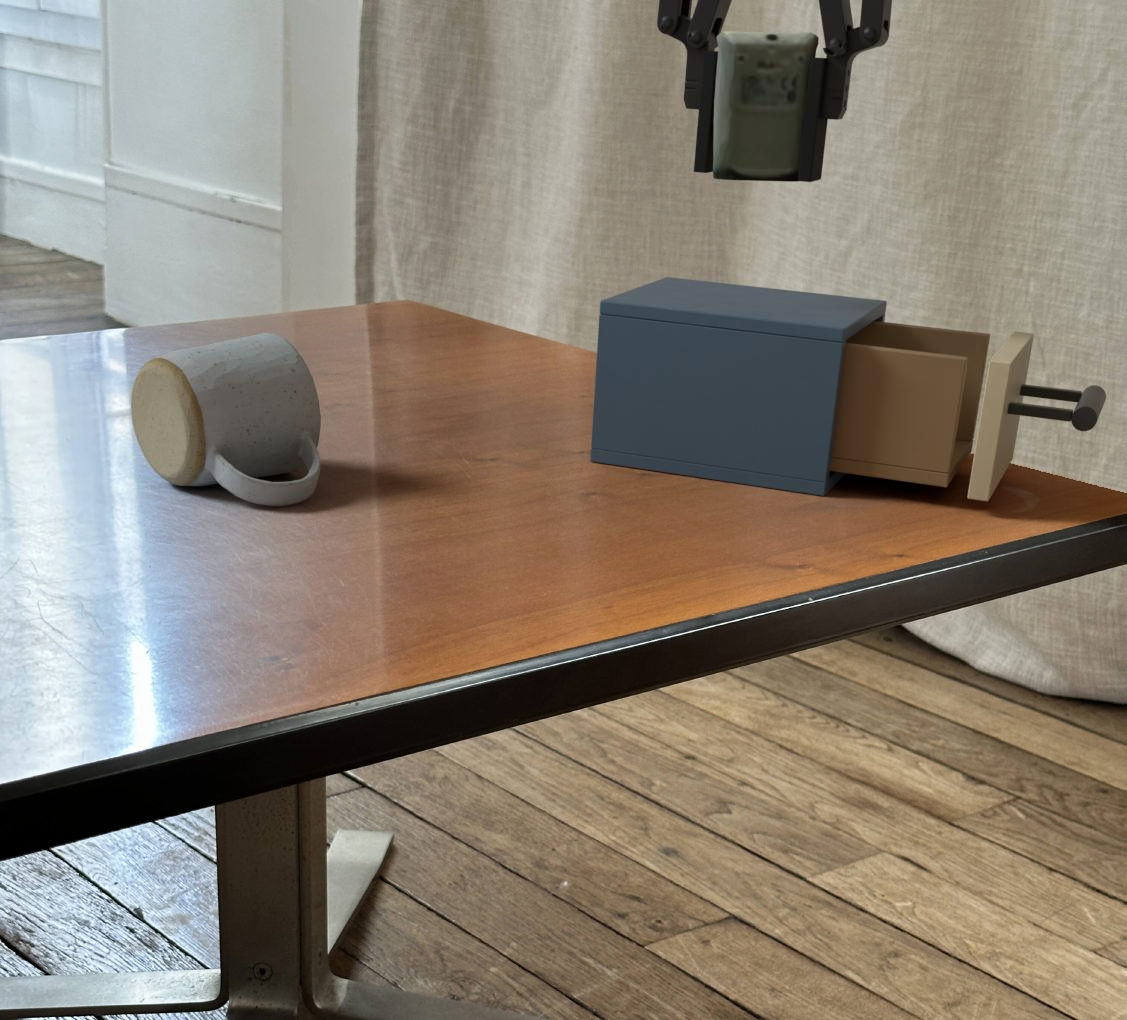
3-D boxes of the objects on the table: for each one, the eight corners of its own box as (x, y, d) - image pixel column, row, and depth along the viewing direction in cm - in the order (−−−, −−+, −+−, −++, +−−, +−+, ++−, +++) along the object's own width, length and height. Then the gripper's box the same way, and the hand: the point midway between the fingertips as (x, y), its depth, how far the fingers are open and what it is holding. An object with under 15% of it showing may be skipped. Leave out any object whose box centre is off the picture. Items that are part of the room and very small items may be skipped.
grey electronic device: (746, 184, 90) (760, 28, 86) (685, 175, 93) (697, 25, 90) (818, 183, 93) (835, 33, 90) (757, 175, 97) (770, 30, 93)
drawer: (1093, 470, 99) (1118, 342, 95) (1077, 514, 89) (1104, 373, 86) (802, 431, 104) (816, 309, 101) (757, 468, 94) (771, 334, 91)
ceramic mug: (124, 473, 89) (117, 333, 86) (248, 454, 94) (245, 321, 91) (232, 521, 82) (229, 372, 79) (359, 498, 88) (360, 356, 84)
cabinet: (867, 452, 104) (887, 300, 100) (824, 496, 93) (844, 328, 89) (654, 422, 108) (665, 276, 104) (589, 461, 98) (599, 300, 94)
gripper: (991, -280, 84) (926, 185, 94) (657, -278, 90) (628, 159, 99) (971, -308, 78) (903, 193, 87) (613, -305, 83) (586, 165, 93)
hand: (757, 174), depth 93 cm, fingers closed on grey electronic device, 5 cm apart
